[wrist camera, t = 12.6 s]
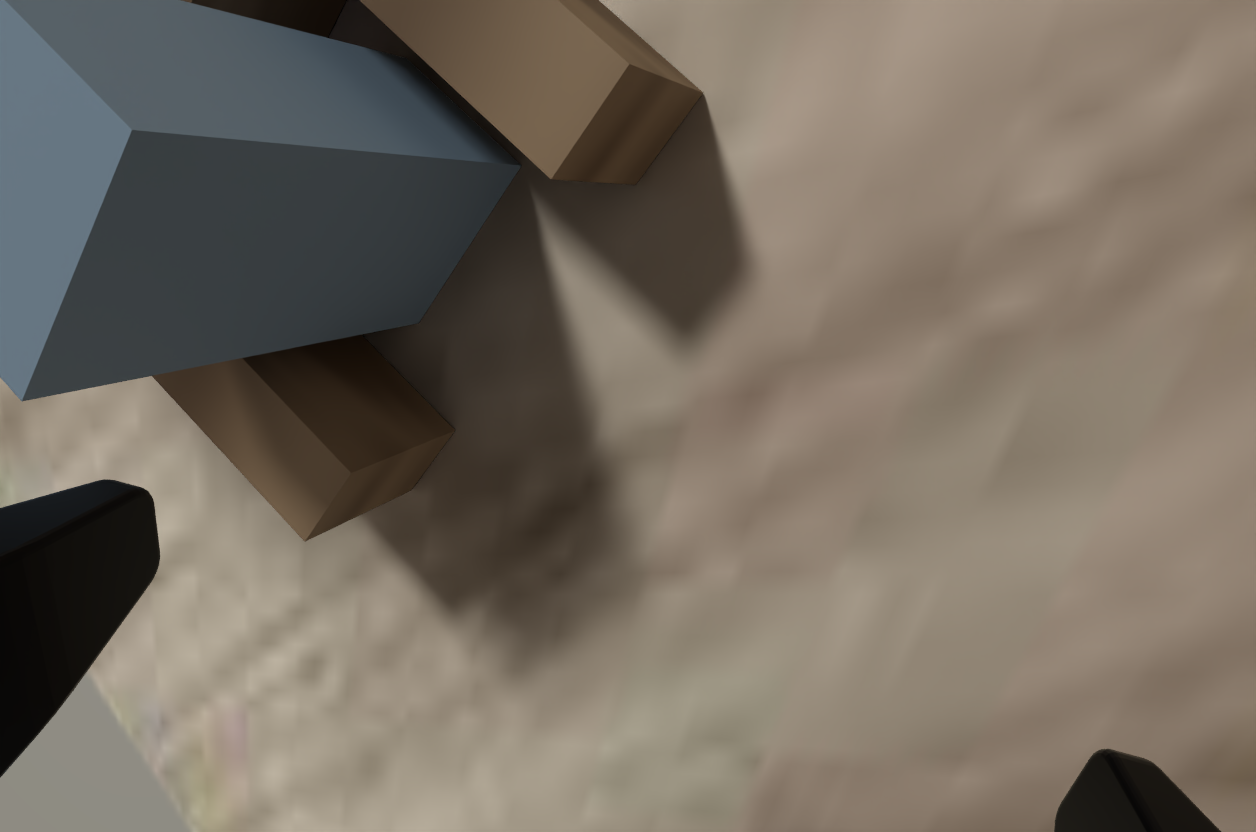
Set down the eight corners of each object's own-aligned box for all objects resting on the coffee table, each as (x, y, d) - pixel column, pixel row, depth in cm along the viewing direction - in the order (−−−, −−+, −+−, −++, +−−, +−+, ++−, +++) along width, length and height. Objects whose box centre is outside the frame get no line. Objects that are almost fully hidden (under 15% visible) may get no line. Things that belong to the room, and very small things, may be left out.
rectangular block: (521, 165, 20) (132, 130, 11) (418, 323, 22) (21, 401, 13) (406, 58, 20) (-54, -60, 12) (317, 221, 23) (-131, 230, 14)
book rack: (703, 93, 18) (629, 63, 14) (411, 490, 23) (304, 541, 20) (375, -197, 19) (233, -290, 16) (172, 241, 25) (33, 247, 21)
